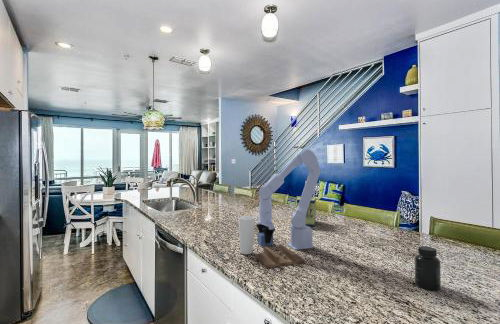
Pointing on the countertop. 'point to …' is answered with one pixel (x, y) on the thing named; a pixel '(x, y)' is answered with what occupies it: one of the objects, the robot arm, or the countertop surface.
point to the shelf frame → (278, 257)
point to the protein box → (310, 212)
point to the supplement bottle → (427, 269)
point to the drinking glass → (246, 234)
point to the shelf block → (263, 240)
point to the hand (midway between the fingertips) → (265, 241)
